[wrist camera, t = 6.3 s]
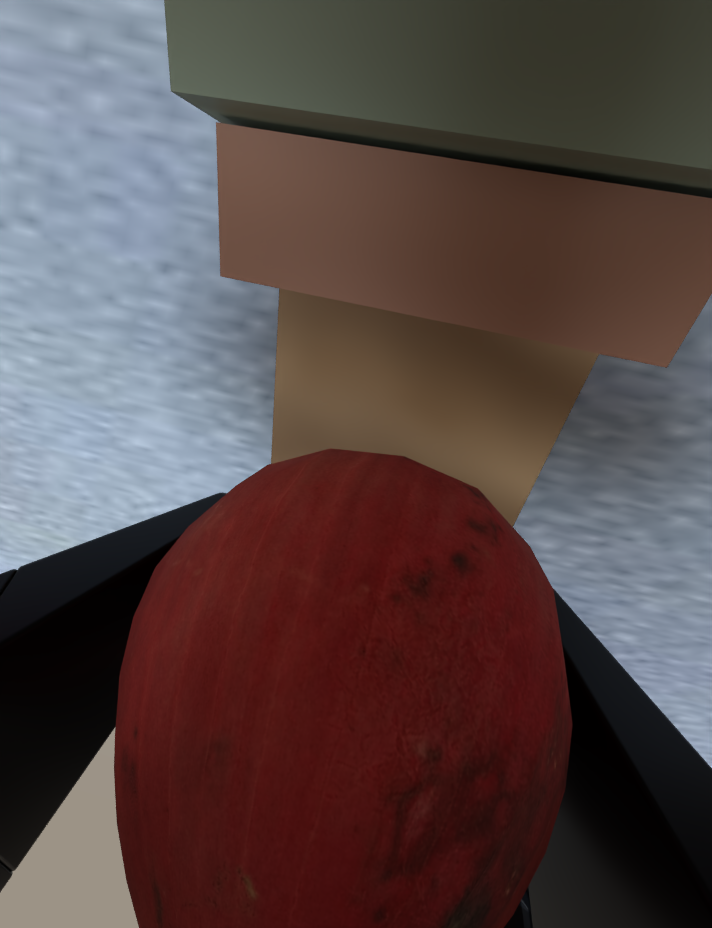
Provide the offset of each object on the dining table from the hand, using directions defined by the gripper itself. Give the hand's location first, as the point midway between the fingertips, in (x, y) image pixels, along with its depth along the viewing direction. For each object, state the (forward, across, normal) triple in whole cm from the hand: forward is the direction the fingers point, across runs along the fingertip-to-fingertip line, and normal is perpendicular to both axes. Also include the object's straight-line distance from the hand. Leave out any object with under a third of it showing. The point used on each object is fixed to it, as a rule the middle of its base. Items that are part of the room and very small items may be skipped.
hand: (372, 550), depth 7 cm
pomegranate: (+2, 0, 0) cm, 2 cm away
